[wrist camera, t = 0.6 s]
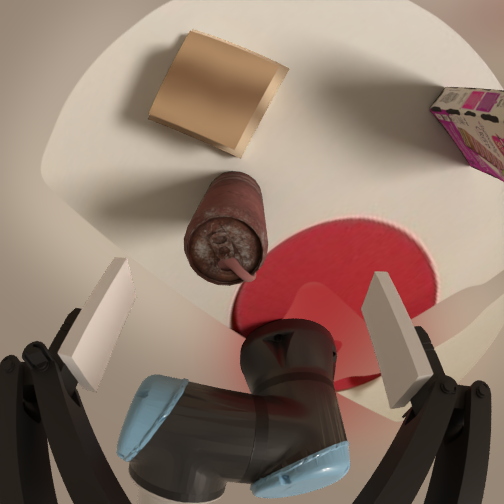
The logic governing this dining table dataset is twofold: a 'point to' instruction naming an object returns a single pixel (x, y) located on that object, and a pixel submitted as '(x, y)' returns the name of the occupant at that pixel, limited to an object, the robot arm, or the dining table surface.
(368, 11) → the dining table surface
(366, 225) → the dining table surface
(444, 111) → the candy bar box
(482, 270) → the dining table surface
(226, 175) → the can
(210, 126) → the stand
